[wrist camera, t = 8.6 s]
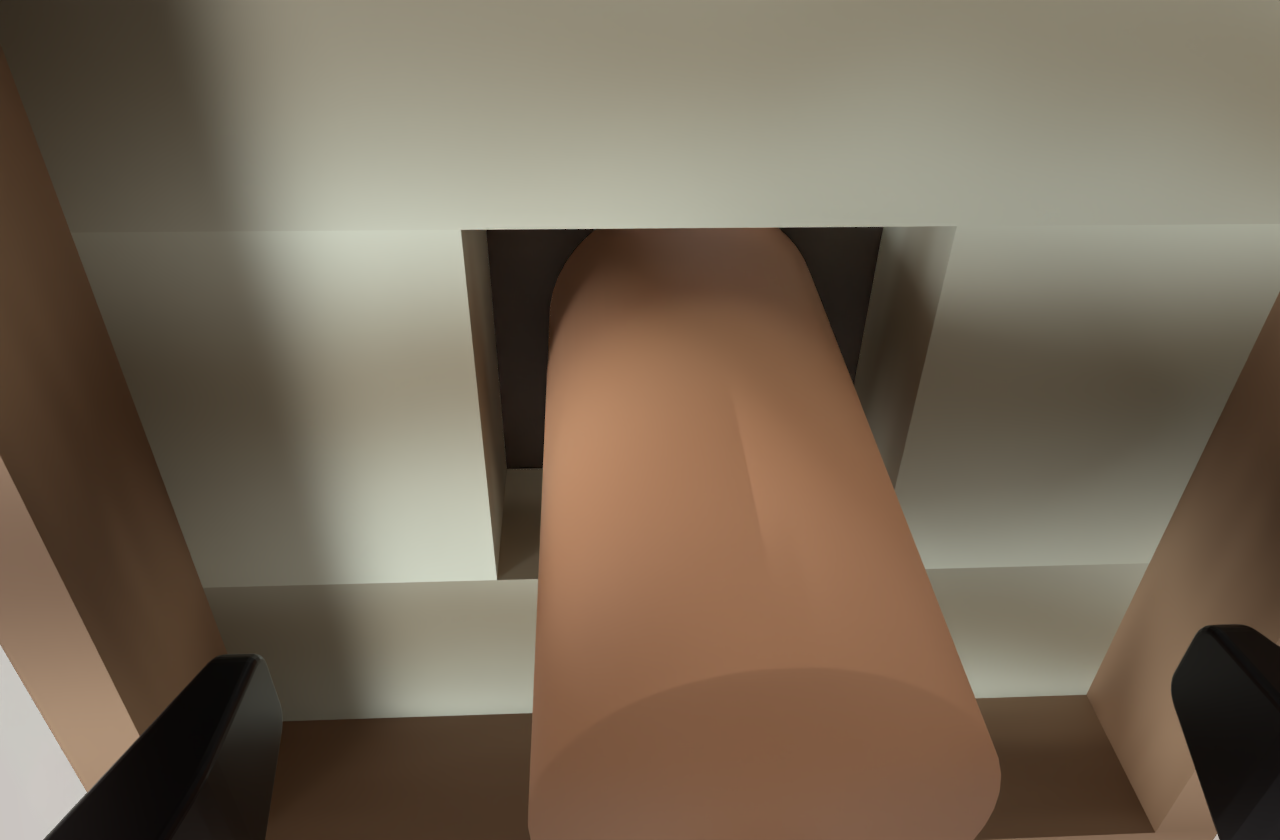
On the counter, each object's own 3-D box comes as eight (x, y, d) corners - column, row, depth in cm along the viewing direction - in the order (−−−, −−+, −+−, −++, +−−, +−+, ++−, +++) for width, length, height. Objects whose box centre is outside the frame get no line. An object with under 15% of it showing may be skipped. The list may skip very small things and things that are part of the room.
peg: (798, 424, 16) (945, 920, 10) (554, 428, 16) (538, 937, 9) (833, 195, 13) (1059, 660, 7) (543, 197, 13) (512, 676, 7)
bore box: (1067, 619, 19) (1195, 864, 15) (246, 643, 18) (155, 908, 14) (1429, -226, 11) (1929, -170, 7) (-70, -255, 10) (-499, -208, 6)
